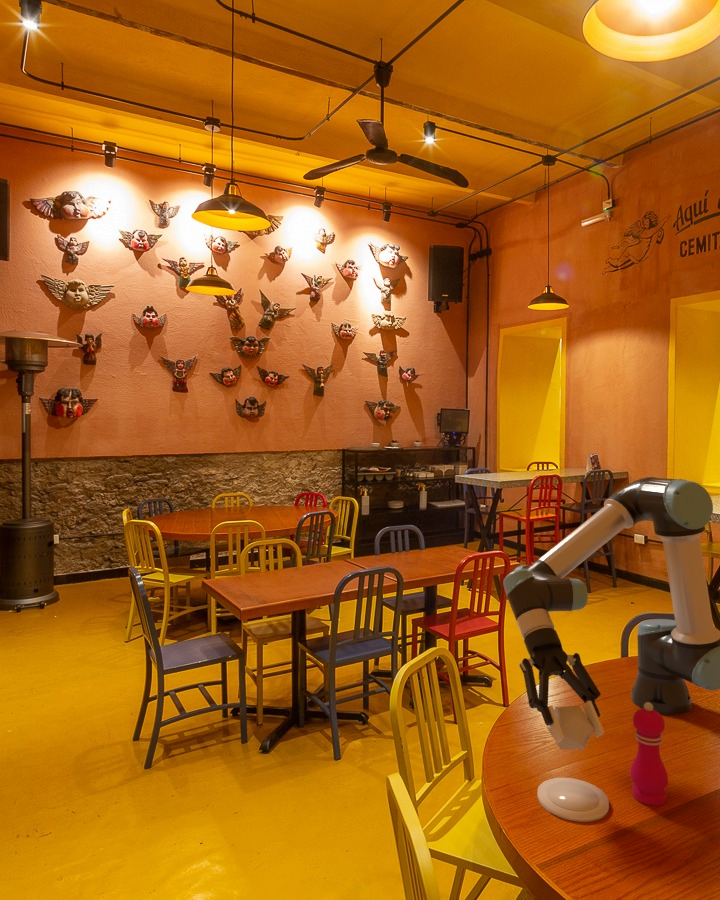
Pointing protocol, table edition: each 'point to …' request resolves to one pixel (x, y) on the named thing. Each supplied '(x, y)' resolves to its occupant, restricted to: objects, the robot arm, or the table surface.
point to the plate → (573, 799)
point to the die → (573, 727)
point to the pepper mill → (649, 758)
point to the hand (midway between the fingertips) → (580, 737)
